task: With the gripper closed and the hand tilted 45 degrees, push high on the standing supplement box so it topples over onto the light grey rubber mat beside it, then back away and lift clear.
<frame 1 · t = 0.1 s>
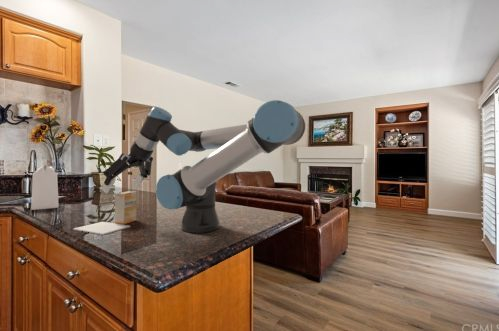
hand: (120, 189, 99), 15 cm above the worktop, tool tilted 35°, fingers open, 13 cm apart
milk: (45, 207, 140), on the worktop
supplement box: (125, 222, 109), on the worktop
mat: (102, 228, 98), on the worktop
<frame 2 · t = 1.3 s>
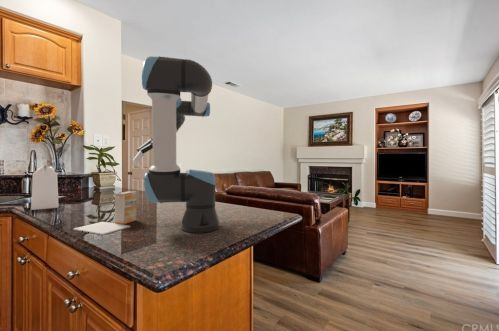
hand: (145, 162, 118), 26 cm above the worktop, tool tilted 45°, fingers open, 12 cm apart
nothing on the worktop moved.
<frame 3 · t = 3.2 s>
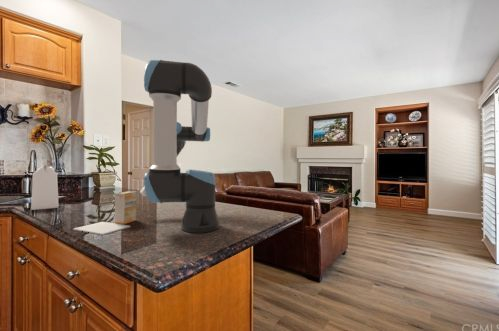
hand: (142, 194, 117), 11 cm above the worktop, tool tilted 45°, fingers closed
nothing on the worktop moved.
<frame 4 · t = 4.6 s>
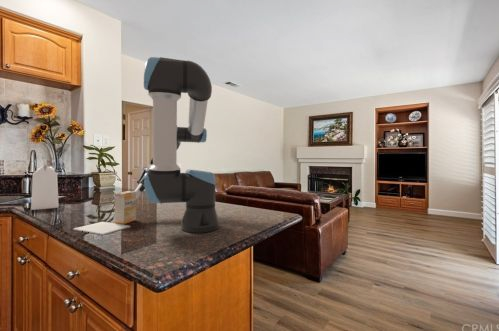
hand: (134, 196, 113), 11 cm above the worktop, tool tilted 45°, fingers closed
supplement box: (125, 222, 109), on the worktop, touching gripper
everything else where it was.
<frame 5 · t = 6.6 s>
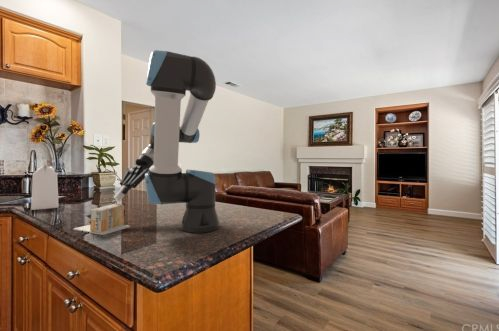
hand: (116, 199, 104), 11 cm above the worktop, tool tilted 45°, fingers closed
supplement box: (119, 213, 105), point 5 cm above the worktop, touching mat
everything else where it was.
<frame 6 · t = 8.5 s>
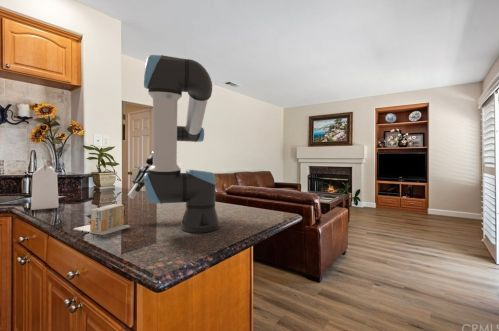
hand: (130, 196, 111), 11 cm above the worktop, tool tilted 45°, fingers closed
nothing on the worktop moved.
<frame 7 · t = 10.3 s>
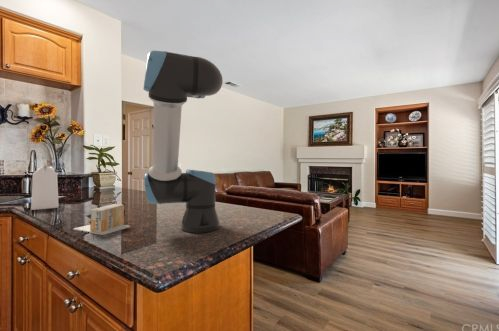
hand: (163, 160, 121), 27 cm above the worktop, tool pointing down, fingers closed
nothing on the worktop moved.
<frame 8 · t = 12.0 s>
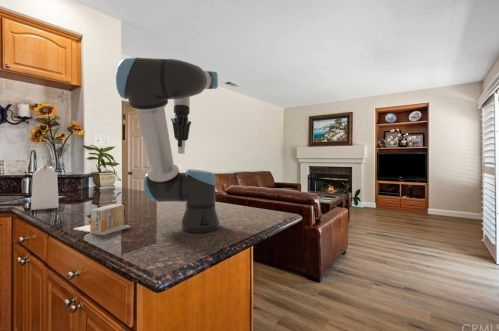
hand: (181, 153, 124), 30 cm above the worktop, tool pointing down, fingers closed
nothing on the worktop moved.
at the end: supplement box tilted 91°; supplement box inside the target area (7.3 cm from its centre), point 4.6 cm above the worktop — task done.
